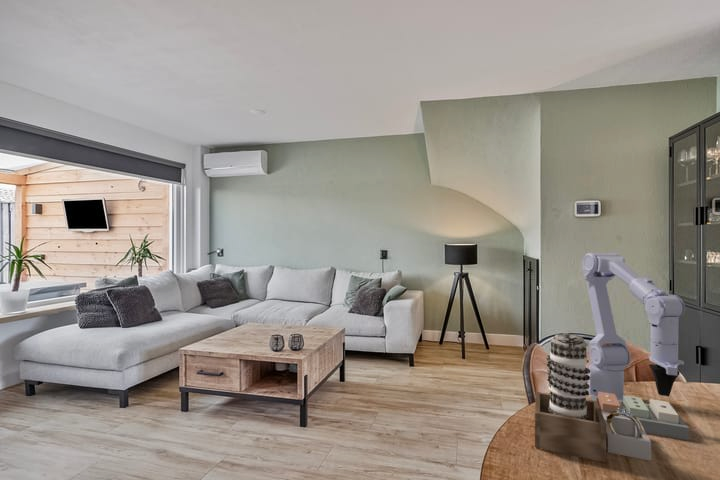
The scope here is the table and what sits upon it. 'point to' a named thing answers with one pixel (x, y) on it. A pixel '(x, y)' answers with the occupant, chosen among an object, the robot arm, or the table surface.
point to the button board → (658, 424)
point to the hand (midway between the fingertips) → (663, 394)
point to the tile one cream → (663, 411)
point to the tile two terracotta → (608, 402)
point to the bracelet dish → (627, 439)
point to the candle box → (570, 431)
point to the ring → (627, 414)
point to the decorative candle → (568, 376)
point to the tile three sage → (636, 406)
